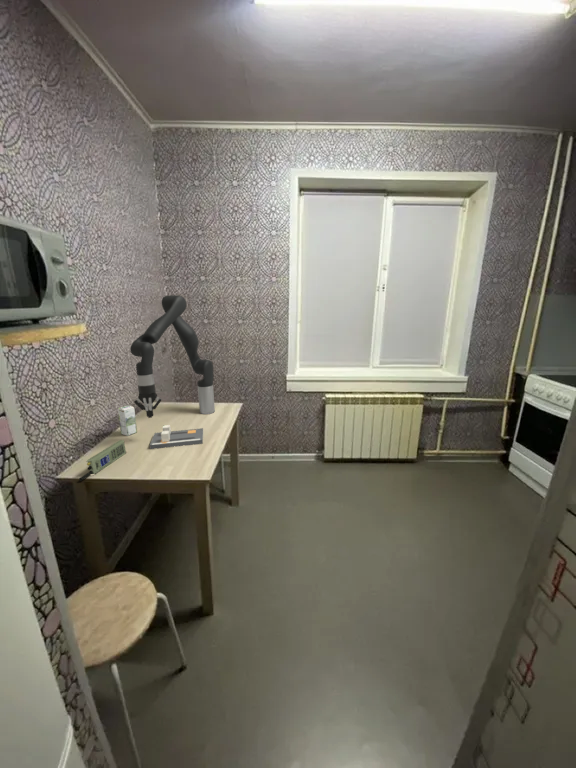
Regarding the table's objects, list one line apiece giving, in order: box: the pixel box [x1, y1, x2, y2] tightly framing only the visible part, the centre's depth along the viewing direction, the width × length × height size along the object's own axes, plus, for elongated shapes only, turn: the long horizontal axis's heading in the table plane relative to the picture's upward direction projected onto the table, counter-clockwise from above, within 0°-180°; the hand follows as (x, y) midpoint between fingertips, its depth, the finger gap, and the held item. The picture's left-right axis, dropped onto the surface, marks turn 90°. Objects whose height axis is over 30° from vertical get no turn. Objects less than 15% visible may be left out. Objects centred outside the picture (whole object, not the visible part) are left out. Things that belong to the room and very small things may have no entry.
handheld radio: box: [78, 439, 127, 482], centre depth 133 cm, size 7×3×25 cm
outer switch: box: [161, 430, 170, 442], centre depth 153 cm, size 4×3×4 cm
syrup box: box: [117, 405, 138, 437], centre depth 165 cm, size 6×6×14 cm
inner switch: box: [162, 424, 172, 434], centre depth 160 cm, size 4×3×4 cm
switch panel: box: [149, 427, 204, 450], centre depth 158 cm, size 15×24×2 cm, turn 104°
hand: (150, 417), depth 156 cm, fingers closed
